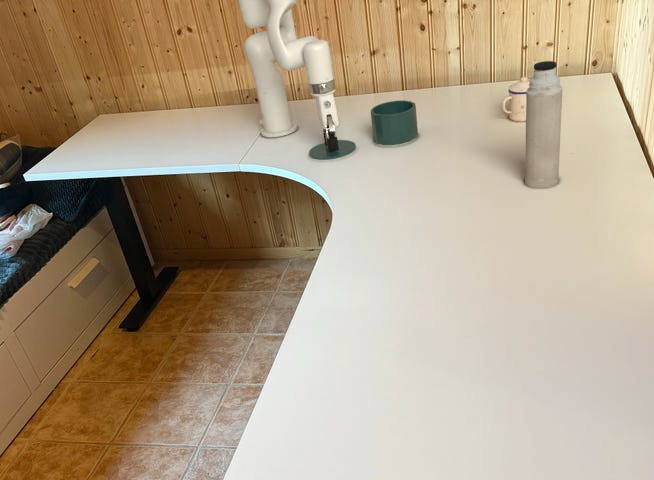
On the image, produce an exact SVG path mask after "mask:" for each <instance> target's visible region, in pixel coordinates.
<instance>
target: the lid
mask: <svg viewBox="0 0 654 480" xmlns="http://www.w3.org/2000/svg"><path fill="white" fill-rule="evenodd" d="M329 132H330V131H328V133H329ZM324 133H325V132H324ZM325 136H326V142H327V134H326V133H325ZM337 140H338V147H339V150H337V151H333V152H329V151H328V146H326V145H325V142H321V143H319V144H316V145H315V146H313V147H312V148H311V149H309V151H308V155H309V157H310V158H311V159H314V160H321V161H322V160H323V161H325V160H334V159H339V158H343V157H346V156H348V155H350V154H352V153H353V152H354V151H356V149H357V145H356V143H355V142H354V141H351V140H347V139H337Z"/></svg>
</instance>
